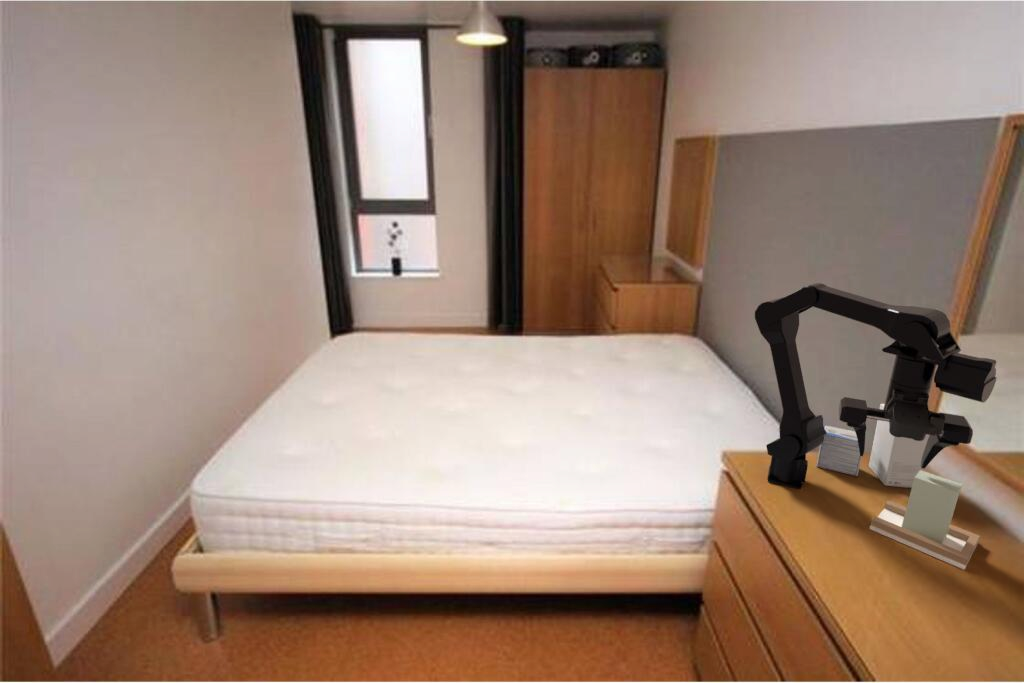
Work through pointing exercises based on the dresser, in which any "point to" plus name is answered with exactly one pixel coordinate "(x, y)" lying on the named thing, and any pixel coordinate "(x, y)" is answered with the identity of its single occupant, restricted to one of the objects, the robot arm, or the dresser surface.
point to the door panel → (931, 506)
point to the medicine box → (839, 451)
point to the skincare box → (895, 456)
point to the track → (951, 550)
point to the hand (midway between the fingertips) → (891, 461)
